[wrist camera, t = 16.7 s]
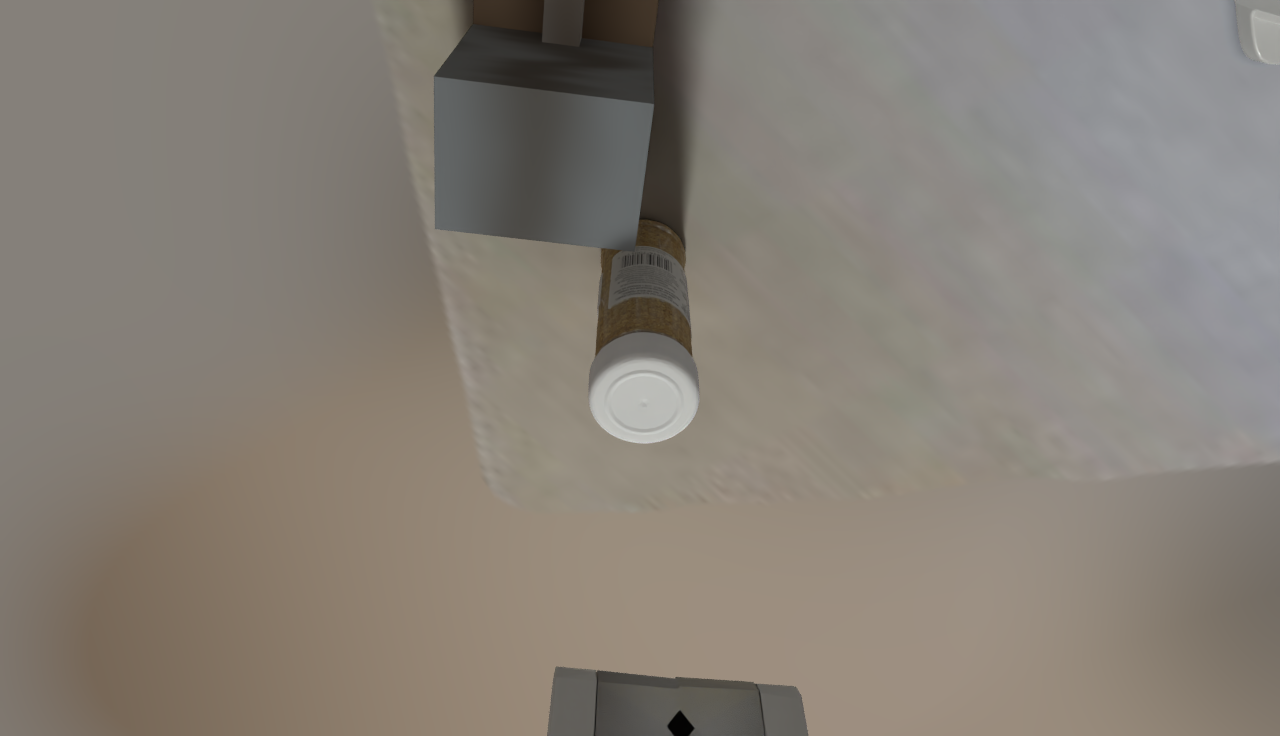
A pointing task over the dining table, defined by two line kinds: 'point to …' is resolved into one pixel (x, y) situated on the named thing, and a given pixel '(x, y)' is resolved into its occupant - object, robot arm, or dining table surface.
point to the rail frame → (547, 121)
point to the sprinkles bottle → (644, 340)
